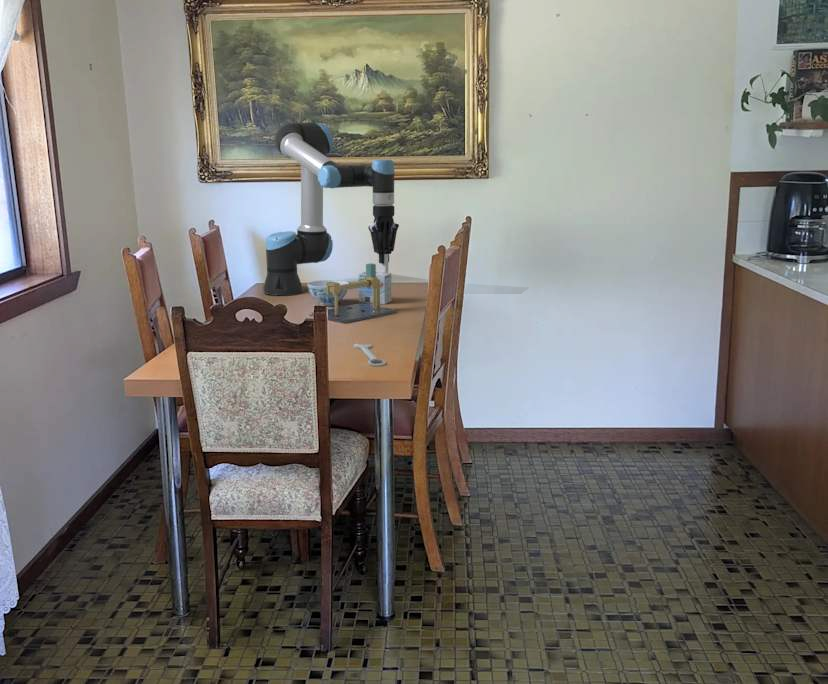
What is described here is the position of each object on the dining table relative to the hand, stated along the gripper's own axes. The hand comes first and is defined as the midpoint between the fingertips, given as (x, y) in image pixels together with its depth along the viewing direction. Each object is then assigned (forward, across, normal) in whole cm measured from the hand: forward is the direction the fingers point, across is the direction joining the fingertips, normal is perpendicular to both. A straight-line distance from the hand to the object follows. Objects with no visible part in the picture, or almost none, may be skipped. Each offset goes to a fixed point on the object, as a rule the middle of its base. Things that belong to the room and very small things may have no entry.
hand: (384, 272), depth 303 cm
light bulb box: (+13, +6, +11) cm, 18 cm away
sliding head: (+12, -7, 0) cm, 13 cm away
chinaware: (+13, -9, +20) cm, 26 cm away
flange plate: (+13, -15, 0) cm, 20 cm away
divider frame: (+12, -14, 0) cm, 18 cm away
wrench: (+14, -50, -45) cm, 68 cm away
